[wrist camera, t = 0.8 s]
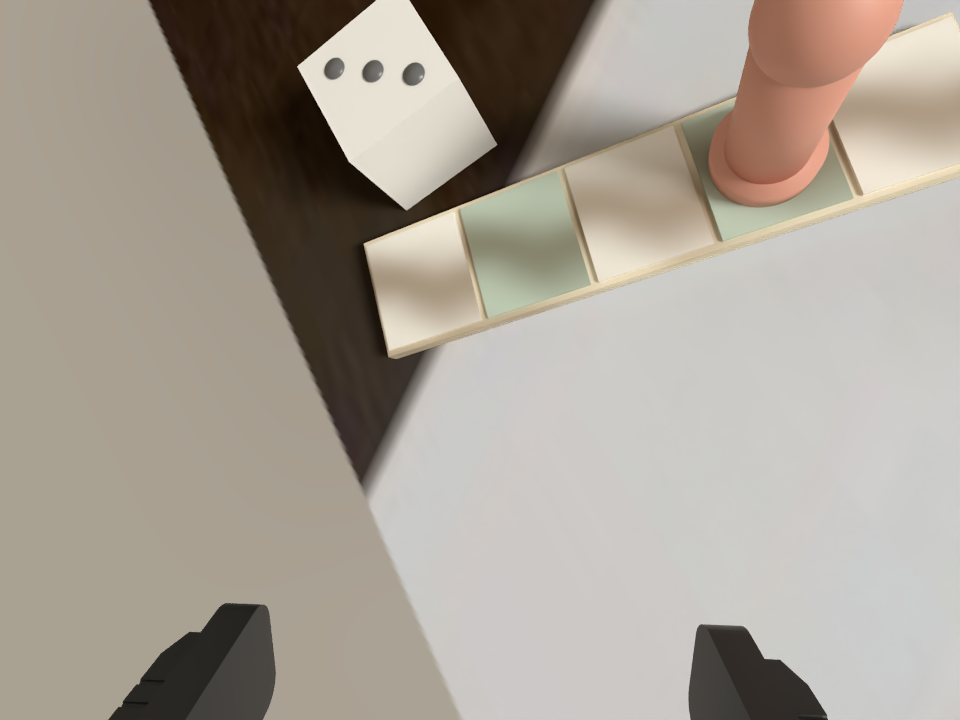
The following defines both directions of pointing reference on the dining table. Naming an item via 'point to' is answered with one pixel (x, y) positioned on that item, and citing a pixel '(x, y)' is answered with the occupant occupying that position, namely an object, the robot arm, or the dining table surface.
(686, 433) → the dining table surface
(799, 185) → the pawn
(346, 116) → the die
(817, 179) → the board
